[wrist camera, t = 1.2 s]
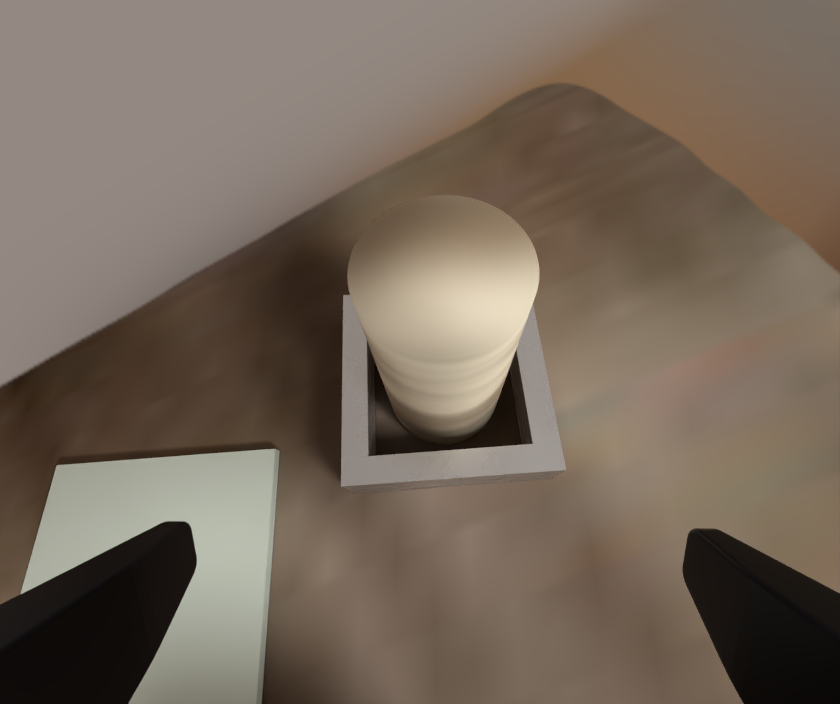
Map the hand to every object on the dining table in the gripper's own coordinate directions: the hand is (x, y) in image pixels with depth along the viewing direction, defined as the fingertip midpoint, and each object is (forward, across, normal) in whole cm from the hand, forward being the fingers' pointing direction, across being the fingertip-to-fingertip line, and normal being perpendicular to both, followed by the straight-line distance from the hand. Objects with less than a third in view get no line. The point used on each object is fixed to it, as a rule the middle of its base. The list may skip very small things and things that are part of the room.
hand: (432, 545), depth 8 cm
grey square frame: (+15, 0, +2) cm, 15 cm away
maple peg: (+15, 0, +2) cm, 15 cm away
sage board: (+9, +13, +10) cm, 19 cm away
